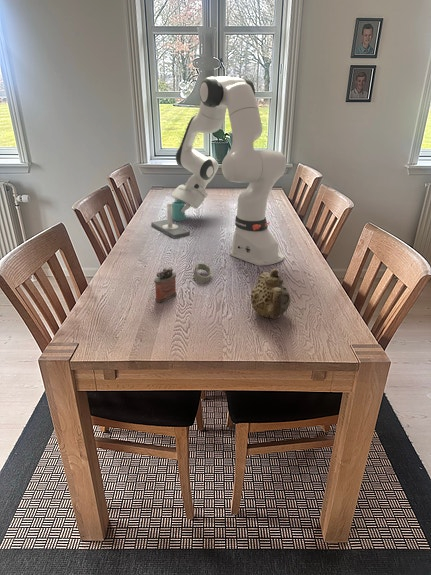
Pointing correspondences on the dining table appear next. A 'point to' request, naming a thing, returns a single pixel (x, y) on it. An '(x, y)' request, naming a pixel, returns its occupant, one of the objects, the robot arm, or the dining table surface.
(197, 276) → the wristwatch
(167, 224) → the post stand
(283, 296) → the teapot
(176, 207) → the collar
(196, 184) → the robot arm
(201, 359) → the dining table surface
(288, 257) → the dining table surface
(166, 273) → the lighter
